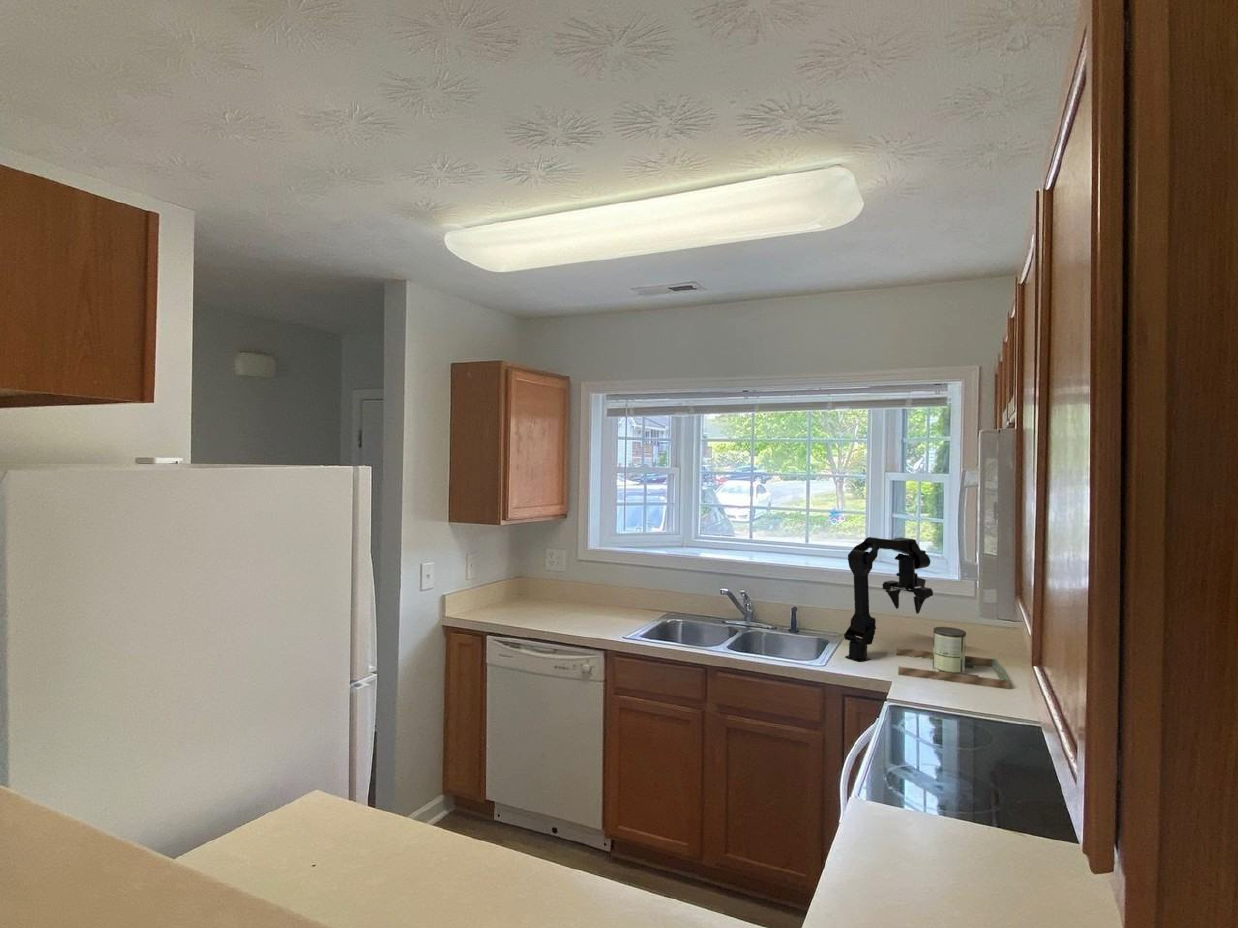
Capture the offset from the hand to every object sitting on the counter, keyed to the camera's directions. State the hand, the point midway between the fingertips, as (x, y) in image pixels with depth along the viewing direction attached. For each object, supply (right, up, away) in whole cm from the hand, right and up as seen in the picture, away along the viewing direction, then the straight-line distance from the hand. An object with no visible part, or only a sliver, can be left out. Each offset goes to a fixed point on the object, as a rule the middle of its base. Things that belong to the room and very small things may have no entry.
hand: (907, 610), depth 262 cm
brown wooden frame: (+4, -16, -23) cm, 29 cm away
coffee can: (+4, -16, -23) cm, 29 cm away
